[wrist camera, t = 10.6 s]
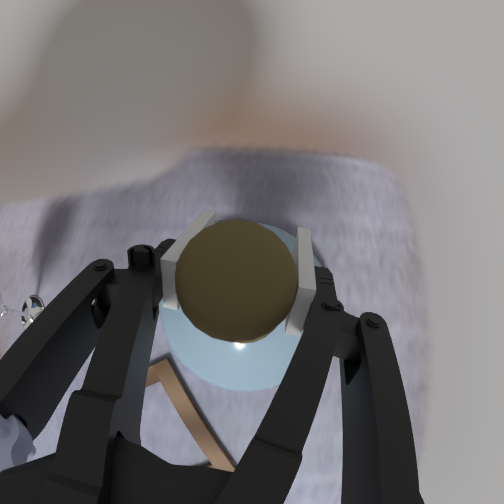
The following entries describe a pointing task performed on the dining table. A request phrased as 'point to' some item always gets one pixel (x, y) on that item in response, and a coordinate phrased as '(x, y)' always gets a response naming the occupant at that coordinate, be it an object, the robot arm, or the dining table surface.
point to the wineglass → (23, 310)
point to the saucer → (232, 348)
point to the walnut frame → (189, 413)
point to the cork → (236, 281)
